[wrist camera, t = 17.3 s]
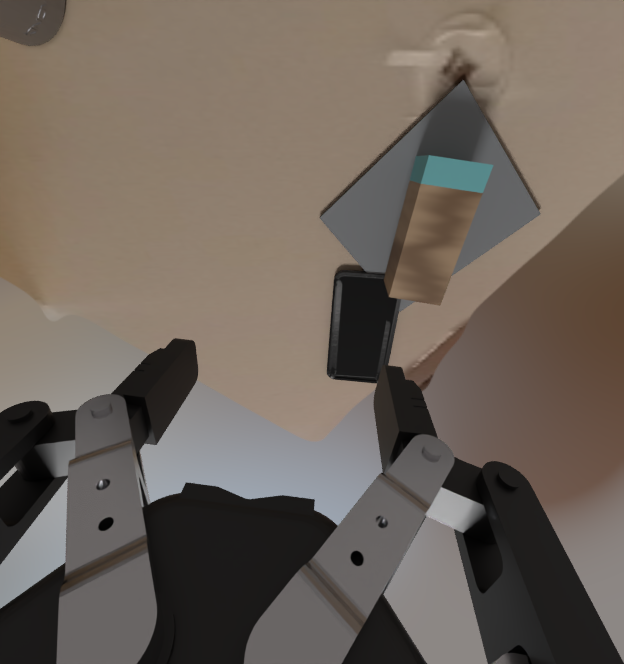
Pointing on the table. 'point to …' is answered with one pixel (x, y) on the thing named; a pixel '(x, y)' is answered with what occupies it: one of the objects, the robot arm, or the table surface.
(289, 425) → the table surface
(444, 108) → the grey mat
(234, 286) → the table surface
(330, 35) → the table surface
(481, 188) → the walnut block
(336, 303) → the phone
